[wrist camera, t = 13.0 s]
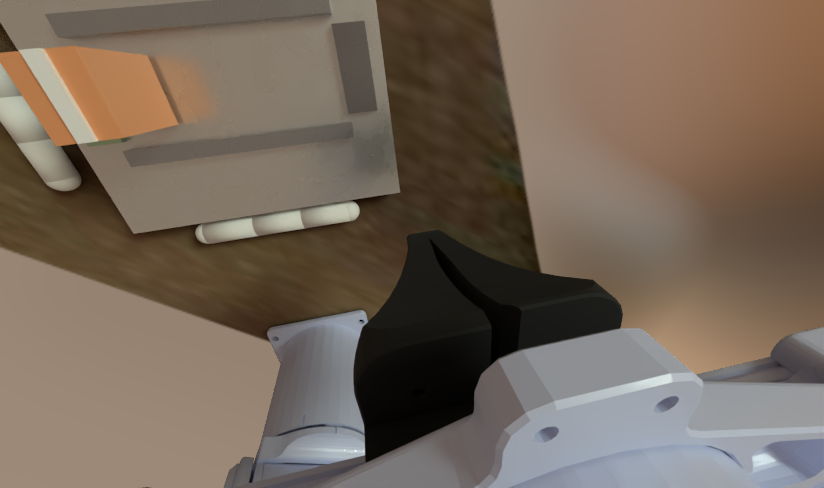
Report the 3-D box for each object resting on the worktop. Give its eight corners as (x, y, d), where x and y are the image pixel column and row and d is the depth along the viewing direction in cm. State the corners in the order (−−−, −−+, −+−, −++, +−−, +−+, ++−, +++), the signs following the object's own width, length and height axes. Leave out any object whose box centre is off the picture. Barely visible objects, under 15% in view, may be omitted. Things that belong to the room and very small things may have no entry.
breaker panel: (397, 185, 21) (401, 195, 19) (148, 223, 19) (127, 238, 17) (359, -108, 14) (359, -137, 12) (-36, -88, 12) (-104, -118, 10)
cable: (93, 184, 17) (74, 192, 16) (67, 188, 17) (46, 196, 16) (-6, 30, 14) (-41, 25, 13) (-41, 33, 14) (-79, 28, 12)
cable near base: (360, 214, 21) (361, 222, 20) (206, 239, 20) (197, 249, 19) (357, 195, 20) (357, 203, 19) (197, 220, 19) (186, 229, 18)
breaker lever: (178, 124, 15) (120, 138, 11) (128, 130, 15) (51, 147, 11) (147, 55, 14) (68, 45, 10) (90, 61, 14) (-13, 52, 10)
